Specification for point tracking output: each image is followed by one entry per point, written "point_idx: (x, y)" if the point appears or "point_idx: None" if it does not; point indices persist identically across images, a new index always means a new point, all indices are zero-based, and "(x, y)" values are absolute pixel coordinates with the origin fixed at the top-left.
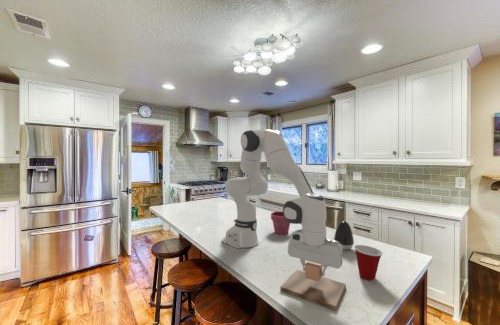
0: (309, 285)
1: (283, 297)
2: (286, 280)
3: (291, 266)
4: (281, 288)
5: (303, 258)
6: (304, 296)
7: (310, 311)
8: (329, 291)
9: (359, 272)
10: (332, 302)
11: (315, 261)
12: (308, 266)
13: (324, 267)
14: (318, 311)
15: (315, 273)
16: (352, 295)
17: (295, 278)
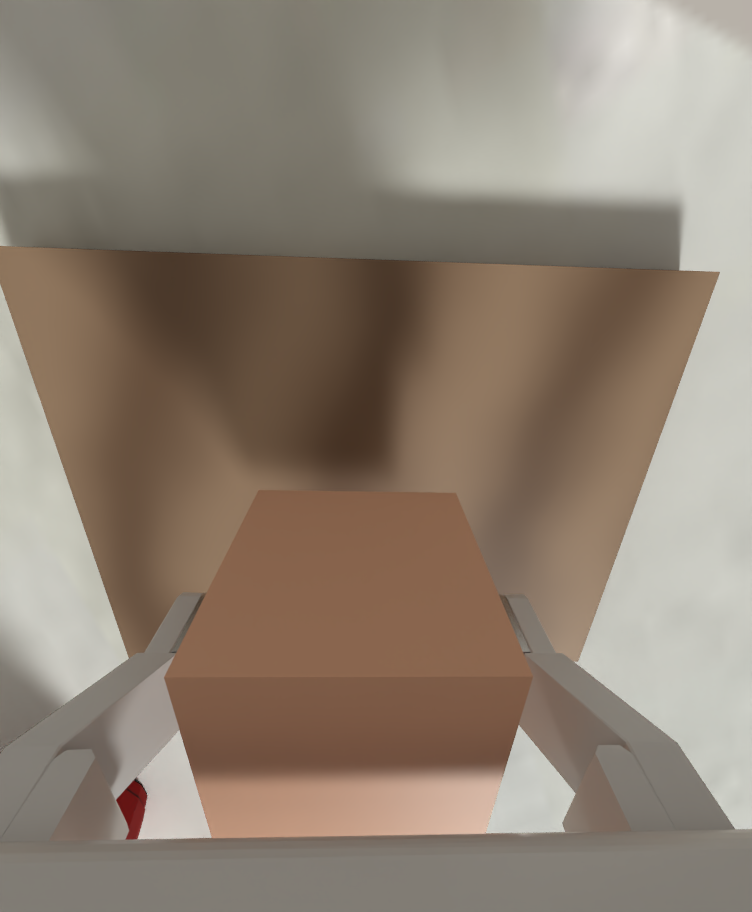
0: (396, 483)
1: (624, 144)
2: (656, 444)
3: (623, 690)
4: (690, 271)
5: (679, 889)
6: (387, 261)
7: (240, 37)
8: (185, 489)
9: (124, 814)
10: (58, 304)
11: (223, 905)
12: (436, 653)
13: (50, 757)
14: (165, 108)
15: (278, 564)
16: (57, 568)
17: (564, 527)
